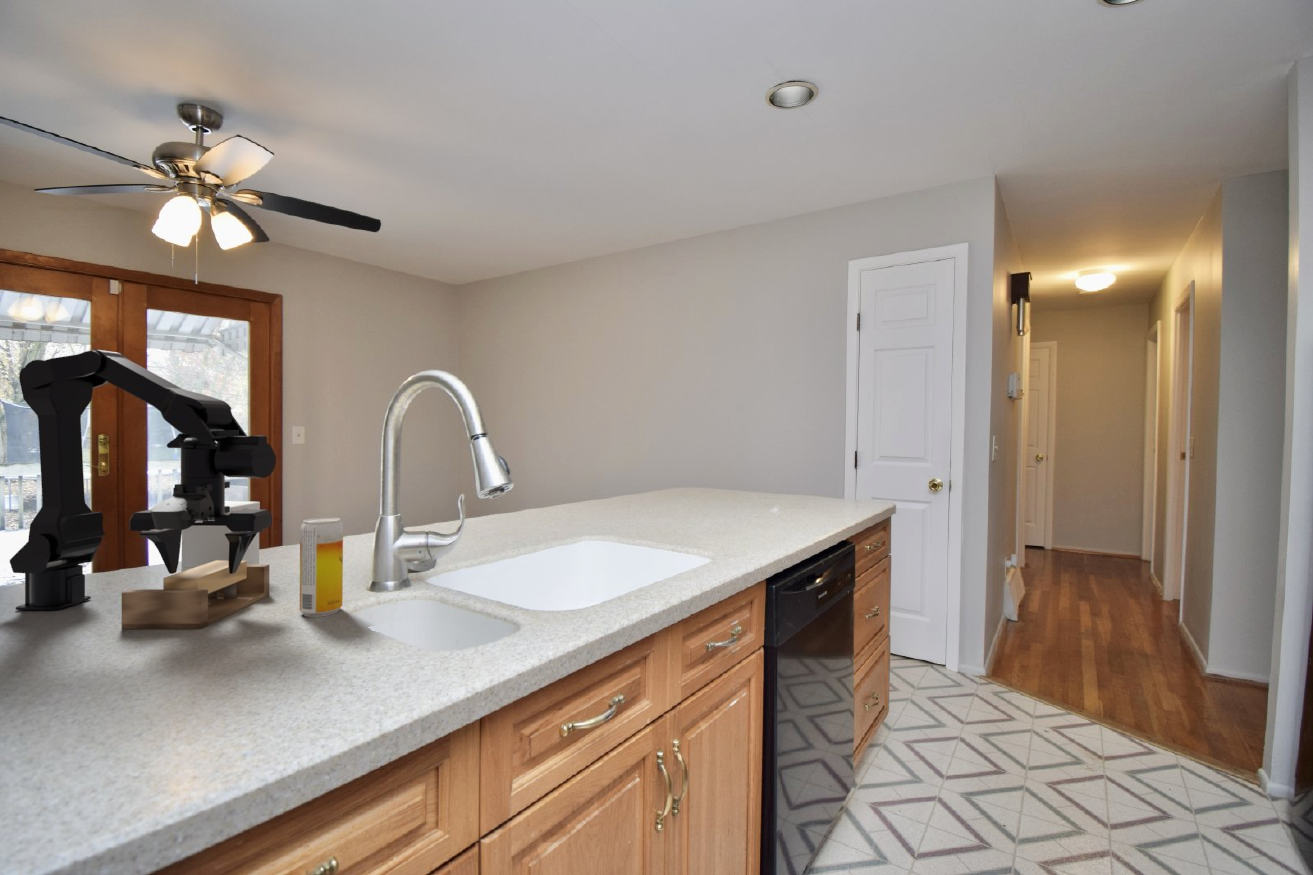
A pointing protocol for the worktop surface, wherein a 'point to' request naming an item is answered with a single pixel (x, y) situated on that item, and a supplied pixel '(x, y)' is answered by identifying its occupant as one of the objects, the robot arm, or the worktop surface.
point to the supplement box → (215, 541)
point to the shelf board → (206, 577)
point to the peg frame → (192, 603)
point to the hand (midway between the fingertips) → (202, 573)
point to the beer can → (321, 566)
